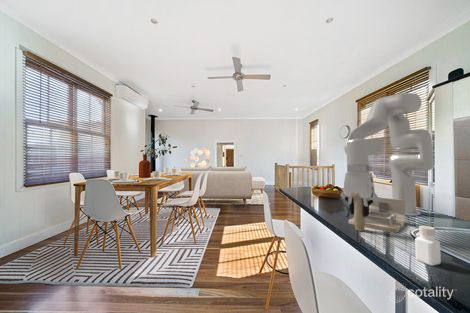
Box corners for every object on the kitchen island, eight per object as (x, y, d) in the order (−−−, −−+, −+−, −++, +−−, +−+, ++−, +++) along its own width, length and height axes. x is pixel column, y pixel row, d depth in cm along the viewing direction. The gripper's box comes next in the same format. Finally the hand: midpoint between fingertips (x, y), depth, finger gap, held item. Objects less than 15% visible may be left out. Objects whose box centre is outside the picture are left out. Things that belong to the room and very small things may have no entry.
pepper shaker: (431, 266, 54) (430, 230, 55) (414, 260, 58) (413, 225, 59) (442, 264, 56) (440, 228, 56) (425, 257, 59) (423, 224, 60)
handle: (369, 233, 80) (368, 194, 80) (350, 230, 83) (349, 193, 83) (368, 229, 84) (367, 192, 84) (350, 227, 87) (349, 191, 87)
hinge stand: (361, 216, 103) (360, 195, 103) (405, 224, 90) (404, 199, 90) (348, 223, 92) (347, 199, 92) (395, 233, 79) (394, 205, 80)
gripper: (385, 169, 80) (386, 217, 80) (340, 168, 93) (341, 209, 92) (379, 170, 75) (380, 221, 75) (332, 169, 88) (333, 212, 87)
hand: (359, 214), depth 84 cm, fingers closed on handle, 4 cm apart
